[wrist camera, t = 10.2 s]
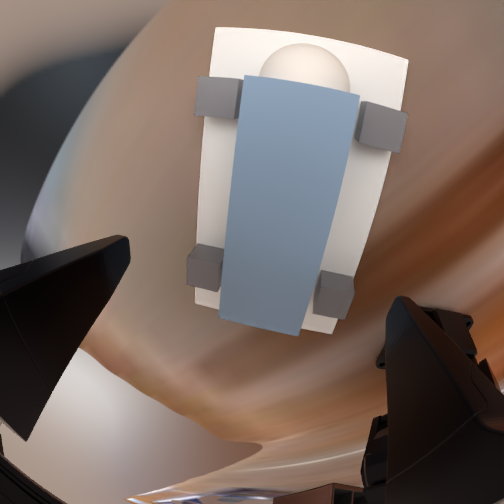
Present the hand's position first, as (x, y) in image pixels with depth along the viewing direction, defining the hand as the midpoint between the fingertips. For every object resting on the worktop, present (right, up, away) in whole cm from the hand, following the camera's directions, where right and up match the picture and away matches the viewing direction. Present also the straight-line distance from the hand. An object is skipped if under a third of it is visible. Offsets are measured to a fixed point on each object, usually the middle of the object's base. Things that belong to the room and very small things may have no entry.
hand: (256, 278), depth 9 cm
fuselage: (+2, +4, +7) cm, 8 cm away
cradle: (+2, +4, +8) cm, 9 cm away
